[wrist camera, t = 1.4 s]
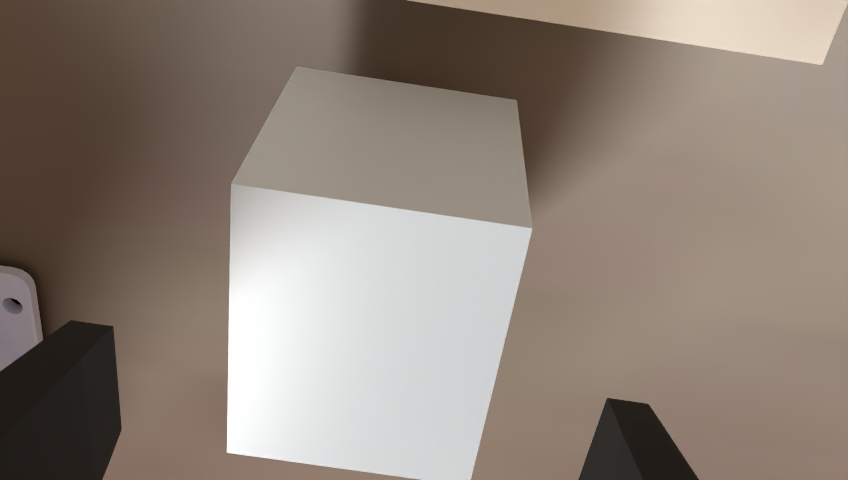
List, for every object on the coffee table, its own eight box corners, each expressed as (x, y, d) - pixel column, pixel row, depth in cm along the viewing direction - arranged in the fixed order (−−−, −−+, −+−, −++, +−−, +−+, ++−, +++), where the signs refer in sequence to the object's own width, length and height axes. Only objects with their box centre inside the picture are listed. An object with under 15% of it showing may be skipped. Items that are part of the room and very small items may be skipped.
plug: (470, 271, 21) (468, 486, 15) (298, 246, 20) (227, 452, 14) (512, 65, 18) (532, 228, 12) (313, 35, 18) (230, 183, 12)
